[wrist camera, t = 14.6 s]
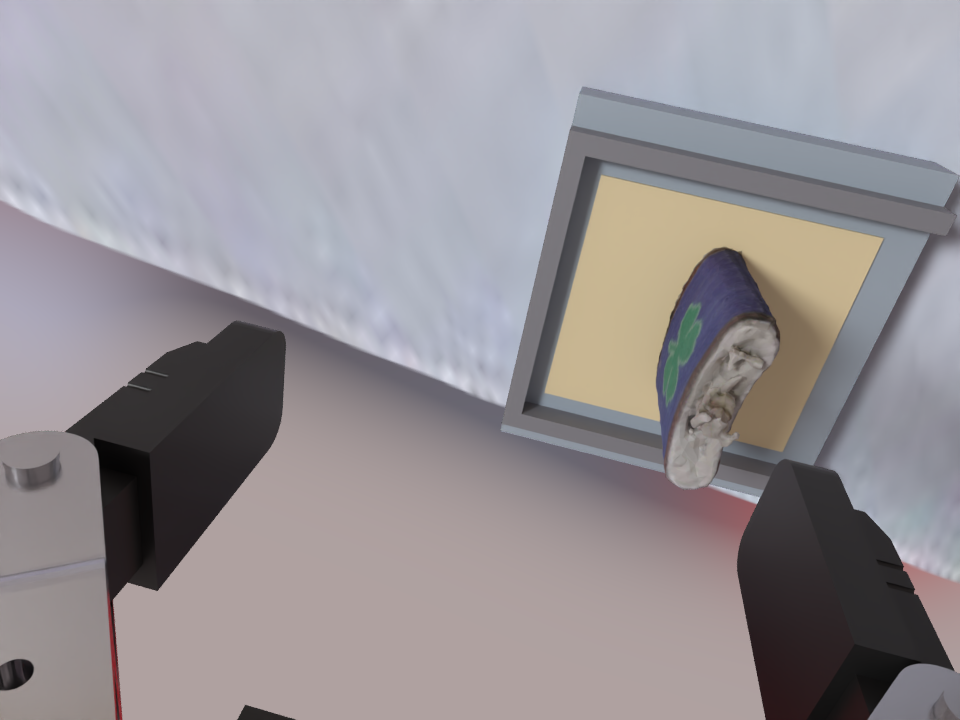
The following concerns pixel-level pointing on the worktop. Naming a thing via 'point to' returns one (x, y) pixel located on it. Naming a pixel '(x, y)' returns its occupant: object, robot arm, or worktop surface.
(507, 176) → the worktop surface
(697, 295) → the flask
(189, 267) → the worktop surface
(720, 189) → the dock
